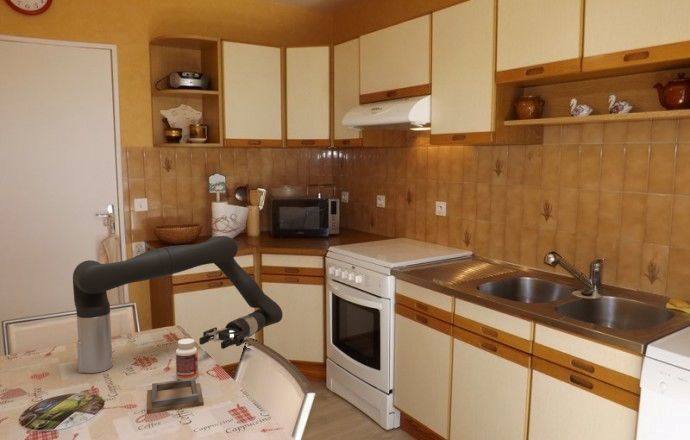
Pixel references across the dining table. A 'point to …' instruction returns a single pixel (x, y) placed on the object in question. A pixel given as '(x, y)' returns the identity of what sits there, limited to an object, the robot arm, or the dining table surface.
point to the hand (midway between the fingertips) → (210, 343)
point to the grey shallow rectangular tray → (174, 395)
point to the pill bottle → (186, 360)
